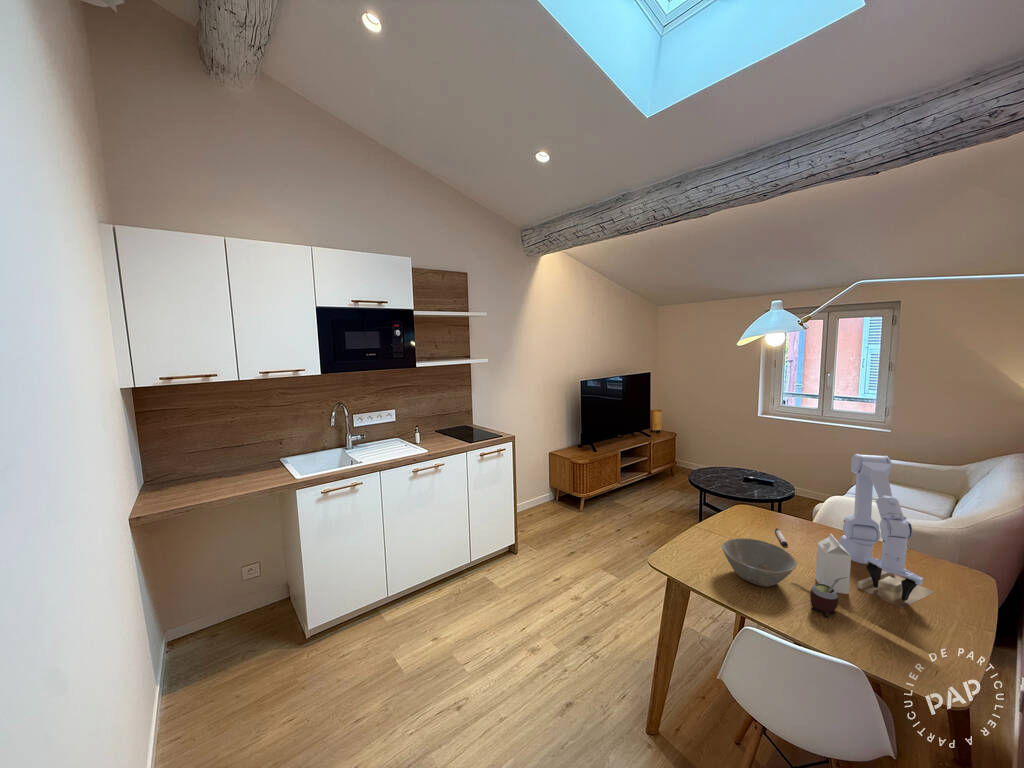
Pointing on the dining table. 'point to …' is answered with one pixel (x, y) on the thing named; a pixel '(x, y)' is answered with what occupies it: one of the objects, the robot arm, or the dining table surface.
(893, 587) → the block
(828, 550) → the milk carton
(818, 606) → the mate gourd
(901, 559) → the robot arm
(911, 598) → the pale wooden board
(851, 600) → the dining table surface
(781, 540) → the marker
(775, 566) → the ceramic bowl
